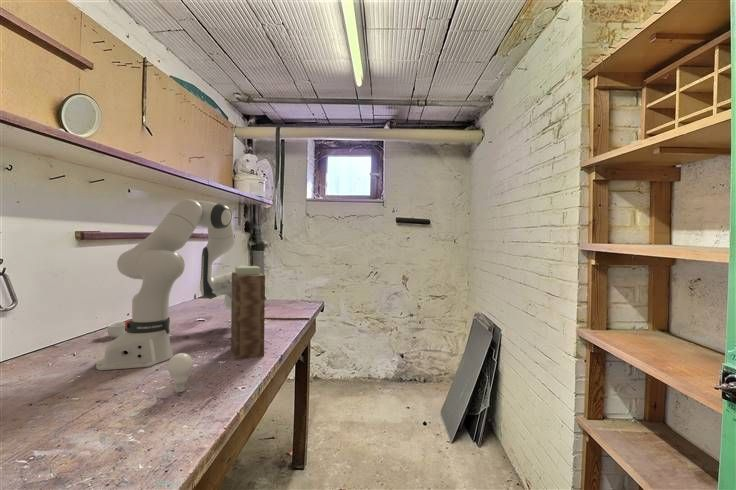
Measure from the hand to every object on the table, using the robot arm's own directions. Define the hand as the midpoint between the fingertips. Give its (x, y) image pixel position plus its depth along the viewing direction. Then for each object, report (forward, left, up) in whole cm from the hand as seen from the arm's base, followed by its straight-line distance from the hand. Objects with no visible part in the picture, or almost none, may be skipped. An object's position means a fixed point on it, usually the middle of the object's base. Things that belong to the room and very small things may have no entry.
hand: (239, 280), depth 153 cm
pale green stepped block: (0, -16, +5) cm, 16 cm away
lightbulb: (-22, -50, -25) cm, 60 cm away
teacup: (-47, +23, -25) cm, 58 cm away
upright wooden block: (0, -22, -25) cm, 33 cm away
